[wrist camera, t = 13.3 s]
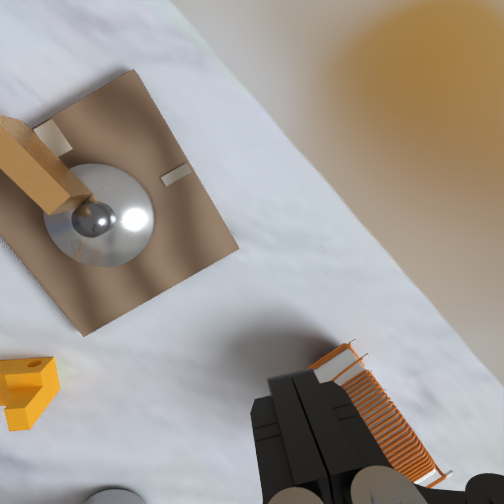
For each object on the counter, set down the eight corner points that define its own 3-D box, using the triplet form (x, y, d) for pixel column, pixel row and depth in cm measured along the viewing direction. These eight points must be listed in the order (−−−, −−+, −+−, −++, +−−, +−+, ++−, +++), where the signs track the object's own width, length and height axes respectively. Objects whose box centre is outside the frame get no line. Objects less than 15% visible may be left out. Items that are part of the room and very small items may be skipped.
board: (89, 330, 36) (83, 337, 34) (-36, 175, 30) (-50, 175, 29) (238, 245, 35) (239, 249, 34) (137, 74, 30) (133, 68, 28)
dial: (176, 221, 32) (167, 232, 26) (106, 281, 33) (80, 304, 27) (65, 97, 28) (23, 76, 22) (-13, 167, 29) (-73, 165, 23)
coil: (345, 420, 43) (410, 542, 29) (289, 344, 39) (331, 442, 25) (387, 393, 43) (473, 503, 28) (334, 314, 39) (403, 395, 24)
